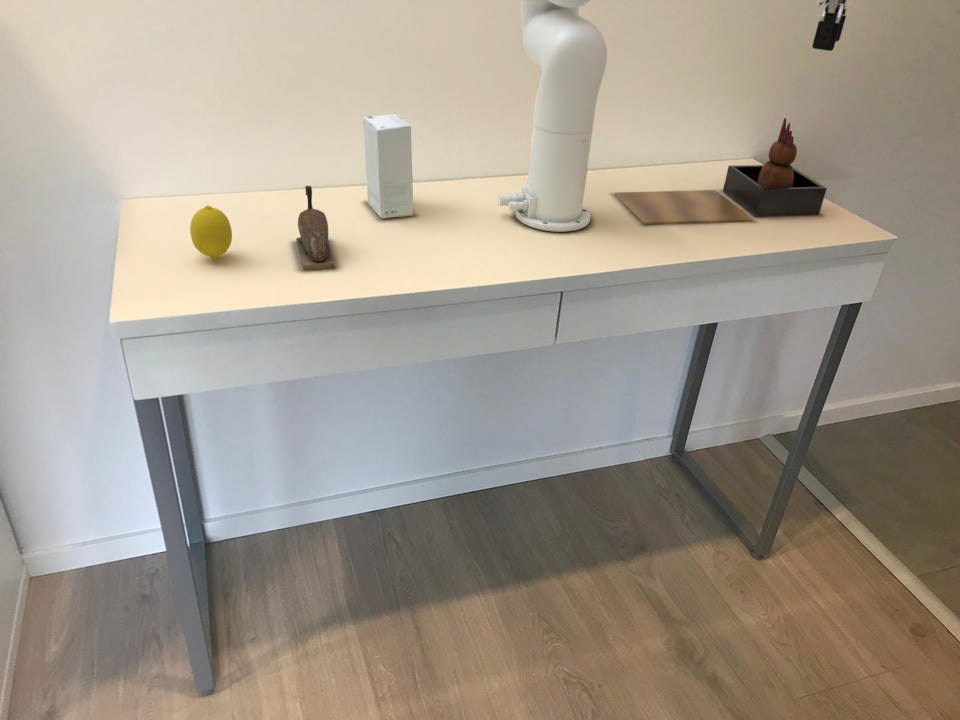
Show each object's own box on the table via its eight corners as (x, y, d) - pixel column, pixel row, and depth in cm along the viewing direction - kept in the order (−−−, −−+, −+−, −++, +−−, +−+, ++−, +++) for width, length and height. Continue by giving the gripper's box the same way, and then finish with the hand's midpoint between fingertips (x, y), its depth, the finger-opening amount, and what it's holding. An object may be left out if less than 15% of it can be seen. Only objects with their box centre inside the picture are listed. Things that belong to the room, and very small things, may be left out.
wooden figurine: (750, 194, 150) (770, 114, 142) (782, 197, 149) (804, 117, 141) (756, 207, 144) (777, 124, 136) (789, 211, 143) (812, 128, 135)
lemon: (197, 269, 111) (189, 215, 107) (192, 253, 115) (184, 200, 111) (237, 264, 113) (231, 211, 109) (231, 248, 117) (225, 197, 113)
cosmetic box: (414, 216, 132) (414, 126, 124) (378, 220, 129) (377, 129, 122) (398, 198, 138) (398, 112, 130) (364, 201, 136) (362, 114, 128)
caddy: (755, 216, 140) (762, 189, 137) (722, 191, 150) (728, 165, 148) (818, 214, 143) (827, 188, 140) (782, 189, 153) (789, 164, 150)
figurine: (293, 231, 124) (289, 177, 119) (322, 229, 125) (319, 176, 120) (303, 270, 113) (299, 212, 108) (335, 268, 114) (332, 210, 109)
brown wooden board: (644, 224, 134) (644, 222, 134) (615, 194, 146) (615, 192, 145) (751, 221, 138) (752, 218, 138) (715, 192, 150) (715, 190, 150)
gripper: (837, -79, 129) (808, 34, 138) (825, -75, 115) (794, 49, 125) (887, -75, 126) (854, 39, 135) (881, -70, 113) (845, 56, 122)
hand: (825, 44), depth 130 cm, fingers open, 9 cm apart
